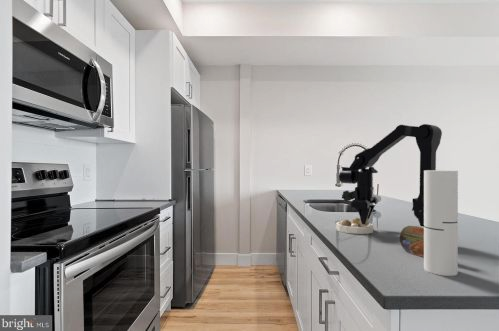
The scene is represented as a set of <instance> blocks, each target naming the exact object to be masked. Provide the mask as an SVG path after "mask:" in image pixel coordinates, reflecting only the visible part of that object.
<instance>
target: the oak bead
mask: <svg viewBox="0 0 499 331" xmlns="http://www.w3.org/2000/svg"><path fill="white" fill-rule="evenodd" d="M351 221H352V223H355V224H358V226H360V225H361V224H360V217H354V218H353V219H352V220H351Z"/></svg>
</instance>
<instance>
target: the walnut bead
mask: <svg viewBox="0 0 499 331" xmlns="http://www.w3.org/2000/svg"><path fill="white" fill-rule="evenodd" d="M342 221H343V222H342V225H343V226H349V227H351V222H350V221H351V220H348V219H344V220H342Z"/></svg>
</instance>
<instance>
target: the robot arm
mask: <svg viewBox="0 0 499 331" xmlns="http://www.w3.org/2000/svg"><path fill="white" fill-rule="evenodd" d="M442 135H443V132H442V129H441V128H440V127H438V126H437V125H434V124H427V123H423V124H421V125H419V126H416V125H415V126H414V125H405V124H399V125H397V126H396V128H395V129H393V130H391V131H390V132H389V133H387V135H386V136H384V137H383V138H382V139H380V140H379V141H378V142H376V143H375V144H373V145H372V146H370V147H369V148H366V149H363V150H362V151H360V152H357V153H356V154H355V155H354V160H353V161H352V163H351V164H350V165H349V167H348V166H342V168H341V170H340V172H339V175H338V178H339V182H340V183H341V184H353V185H355V184H356V186H355V187H354V190H353V191H349V190H344V191H342V194H341V199H343V201H344V203H346V202H349V201H351V202H349V204H350V208H353V209H355V210H356V211H357V212H358V215H359V219H361V223H362V224H363V225H365V223H366V220H367V218H368V219H369V220H370V218H371V216H372V213H373V211H374V209H375V207H376V205H377V204H378V203H379V202H378V198H377V197H376V196H373V190H374V186H373V174H378V173H379V171H378V170H377V169H375V167H374V166H375V164H376V163H377V162H378V161H379V159H380V157H381V156H382V155H383V154H384V153H386V152H387V151H388V150H390V149H391V148H393V147H394V146H395V145H397V144H398V143H400V142H401V141H403V140H404V139H405V138H406V137H409V138H410V137H411V138H412V137H413V138H415V141H416V145H417V148H418V150H419V193H418V196H417V197H416V198H415V197H414V198H412V209H411V211H413V215H414V217H415V218H416V219H417V220H418V223H419V225H420V226H419V227H423V228H424V170H437V169H436V168H437V163H436V162H437V151H438V148H439V146H440V145H441V139H442Z"/></svg>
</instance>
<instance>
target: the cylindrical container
mask: <svg viewBox="0 0 499 331" xmlns="http://www.w3.org/2000/svg"><path fill="white" fill-rule="evenodd" d="M458 173H459V171H458V170H445V169H444V170H442V169H441V170H440V169H439V170H437V169H436V170H424V227H423V228H424V258H423V269H424V271H425V272H428V273H431V274H435V275H439V276H443V277H453V276H457V275H458V272H459V271H458V269H459V268H458V266H459V265H458V264H459V262H458V260H459V256H458V255H459V252H458V249H459V248H458V246H459V242H458V240H459V236H458V235H459V234H458V233H459V232H458V228H459V226H458V225H459V222H458V220H459V218H458V214H459V213H458V212H459V210H458V209H459V208H458V207H459V206H458V204H459V203H458V202H459V201H458V200H459V198H458V197H459V194H458V193H459V192H458V191H459V190H458V189H459V188H458V186H459V180H458V179H459V178H458V176H459V174H458Z"/></svg>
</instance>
